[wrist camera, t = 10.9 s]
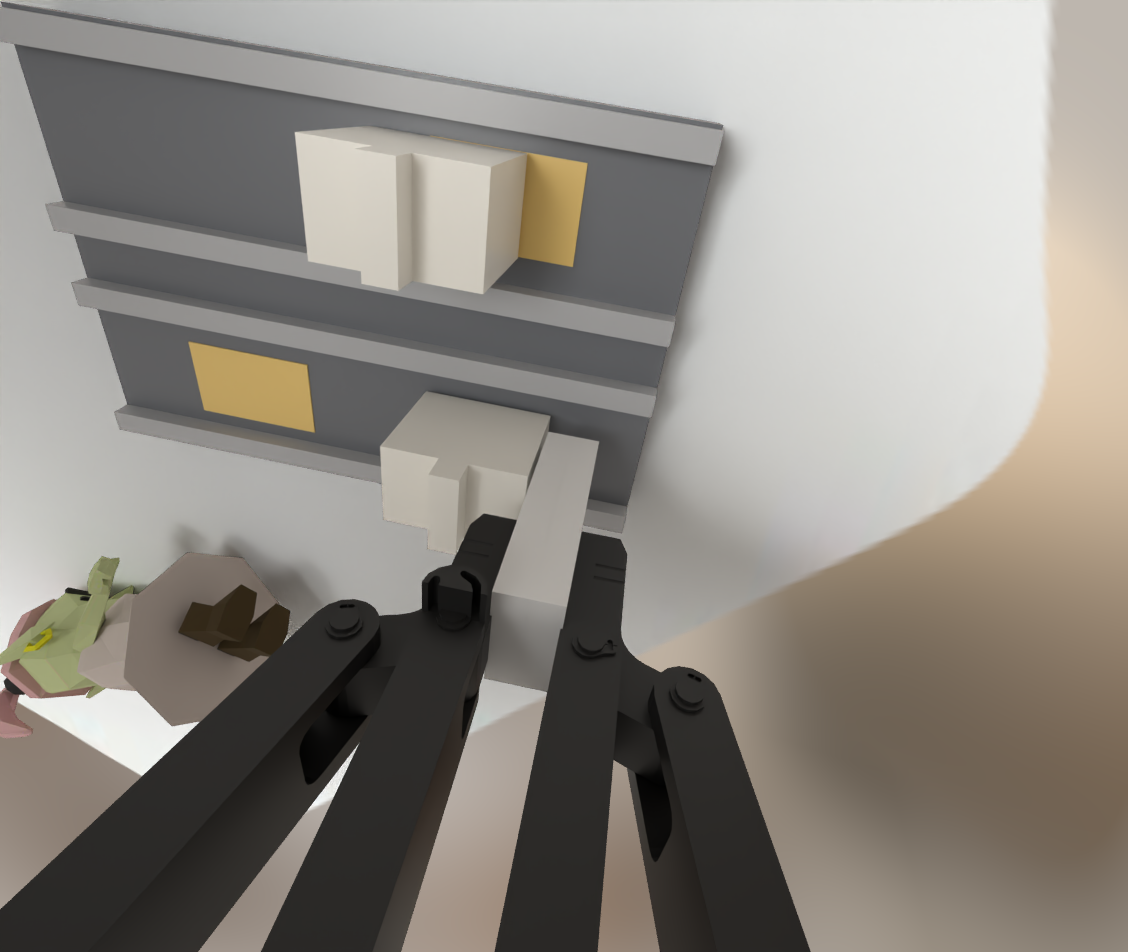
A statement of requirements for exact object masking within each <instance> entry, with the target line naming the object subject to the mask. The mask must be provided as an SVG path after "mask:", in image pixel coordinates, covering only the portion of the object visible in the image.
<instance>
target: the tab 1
mask: <svg viewBox="0 0 1128 952" xmlns="http://www.w3.org/2000/svg"><path fill="white" fill-rule="evenodd" d="M295 140H296V149H297V159H298V169H299V178H300V188H301V198H302V207H303V217H304V226H305V236H306V246H307V255H308V261H309V262H314V263H320V264H325V265H330V266H336V267H341V268H346V269H351V270H357V271H361V284H365V285H370V286H375V287H380V288H386V289H391V290H396V291H399V290H400V289H402V288H403V287H405V286H406V285H407V284H409V283H410V282H412V281H415V282H420V283H426V284H431V285H436V286H441V287H447V288H452V289H457V290H463V291H468V292H473V293H479V294H484V293H485V292H486V291H487V290H488V289H489V288H490V287H491V286H492V285H493V284H494V283H495V281H496V280H497V279H498V278H499V277H500V276H501V275H502V274H503V273H504V272H505V271H506V270H507V269H508V268H509V267H510V266H511V265H512V264H513V263H514V262H515V261H516V260H517V259H518V250H519V239H520V228H521V218H522V207H523V196H524V185H525V174H526V163H527V153H522V152H517V151H511V150H505V149H500V148H494V147H488V146H483V145H477V144H471V143H465V142H460V141H454V140H448V139H443V138H437V137H431V136H426V135H420V134H414V133H409V132H403V131H397V130H392V129H386V128H380V127H375V126H361V127H349V128H337V129H325V130H313V131H300V132H295Z"/></svg>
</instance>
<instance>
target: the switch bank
mask: <svg viewBox="0 0 1128 952" xmlns="http://www.w3.org/2000/svg"><path fill="white" fill-rule="evenodd" d="M1 3H2V7H0V41H1V42H6V43H12V44H14V45H15V48H16V51H17V54H18V58H19V61H20V64H21V67H22V70H23V73H24V77H25V80H26V83H27V86H28V89H29V93H30V96H31V99H32V102H33V105H34V108H35V112H36V115H37V118H38V121H39V124H40V128H41V131H42V134H43V137H44V140H45V143H46V147H47V150H48V153H49V156H50V159H51V163H52V166H53V169H54V172H55V175H56V178H57V182H58V185H59V188H60V191H61V194H62V198H63V201H62V202H56V203H50V204H45V205H46V208H47V211H48V214H49V217H50V220H51V223H52V226H53V229H54V231H60V232H65V233H70V234H74V236H75V239H76V242H77V245H78V248H79V252H80V255H81V258H82V261H83V264H84V268H85V271H86V274H87V277H88V278H85V279H81V280H78V281H75V282H71V284H72V287H73V290H74V293H75V296H76V299H77V302H78V305H80V306H85V307H90V308H95V309H98V312H99V315H100V318H101V322H102V325H103V328H104V331H105V334H106V338H107V341H108V344H109V347H110V350H111V353H112V357H113V360H114V363H115V366H116V369H117V373H118V376H119V379H120V382H121V385H122V388H123V392H124V395H125V398H126V401H127V405H125V406H124V407H122V408H120V409H118V410H117V411H115V412H114V413H115V416H116V419H117V422H118V425H119V428H120V430H125V431H130V432H135V433H140V434H145V435H149V436H154V437H159V438H164V439H169V440H174V441H178V442H183V443H188V444H193V445H198V446H203V447H207V448H212V449H217V450H222V451H227V452H232V453H236V454H241V455H246V456H251V457H256V458H261V459H265V460H270V461H275V462H280V463H285V464H289V465H294V466H299V467H304V468H309V469H314V470H318V471H323V472H328V473H333V474H338V475H343V476H347V477H352V478H357V479H362V480H367V481H372V482H376V483H381V484H382V478H381V456H380V446H381V445H382V443H383V442H384V441H385V440H386V439H387V437H388V436H389V435H390V434H391V433H392V431H393V430H394V429H395V428H396V427H397V425H398V424H399V423H400V422H401V421H402V420H403V418H404V417H405V416H406V415H407V414H408V412H409V411H410V410H411V409H412V408H413V406H414V405H415V404H416V403H417V402H418V400H419V399H420V398H421V397H422V396H423V394H424V393H425V392H426V391H428V392H433V393H438V394H443V395H448V396H453V397H458V398H463V399H468V400H473V401H478V402H483V403H488V404H493V405H498V406H503V407H508V408H513V409H519V410H524V411H529V412H534V413H539V414H544V415H549V416H551V417H550V424H549V431H548V432H553V433H558V434H563V435H568V436H573V437H579V438H584V439H589V440H594V441H599V445H598V450H597V455H596V460H595V465H594V471H593V476H592V481H591V486H590V491H589V496H588V501H587V506H586V511H585V517H584V522H583V525H584V526H589V527H594V528H599V529H603V530H608V531H613V532H618V533H622V531H623V527H624V523H625V519H626V513H627V505H628V501H629V497H630V493H631V489H632V485H633V481H634V477H635V473H636V469H637V466H638V462H639V458H640V454H641V450H642V446H643V442H644V438H645V434H646V430H647V426H648V422H649V418H651V417H652V413H653V409H654V405H655V401H656V397H657V386H658V382H659V378H660V374H661V370H662V366H663V362H664V358H665V354H666V351H667V347H669V346H670V342H671V338H672V334H673V330H674V326H675V315H676V311H677V307H678V303H679V299H680V295H681V291H682V287H683V283H684V279H685V275H686V271H687V267H688V263H689V259H690V255H691V251H692V247H693V243H694V240H695V236H696V232H697V228H698V224H699V220H700V216H701V212H702V208H703V204H704V200H705V196H706V192H707V188H708V184H709V180H710V176H711V172H712V168H713V166H715V165H716V161H717V157H718V153H719V149H720V145H721V142H722V138H723V134H724V131H723V130H722V128H723V125H722V124H720V123H715V122H709V121H703V120H698V119H692V118H686V117H680V116H674V115H668V114H662V113H657V112H651V111H645V110H639V109H633V108H627V107H621V106H616V105H610V104H604V103H598V102H592V101H586V100H580V99H575V98H569V97H563V96H557V95H551V94H545V93H539V92H533V91H528V90H522V89H516V88H510V87H504V86H498V85H492V84H487V83H481V82H475V81H469V80H463V79H457V78H451V77H446V76H440V75H434V74H428V73H422V72H416V71H410V70H404V69H399V68H393V67H387V66H381V65H375V64H369V63H363V62H358V61H352V60H346V59H340V58H334V57H328V56H322V55H317V54H311V53H305V52H299V51H293V50H287V49H281V48H276V47H270V46H264V45H258V44H252V43H246V42H240V41H234V40H229V39H223V38H217V37H211V36H205V35H199V34H193V33H188V32H182V31H176V30H170V29H164V28H158V27H152V26H147V25H141V24H135V23H129V22H123V21H117V20H111V19H106V18H100V17H94V16H88V15H82V14H76V13H70V12H64V11H59V10H53V9H46V8H39V7H32V6H26V5H19V4H12V3H5V2H1ZM361 126H375V127H380V128H386V129H392V130H397V131H403V132H409V133H414V134H420V135H426V136H431V137H437V138H443V139H448V140H454V141H460V142H465V143H471V144H477V145H483V146H488V147H494V148H500V149H505V150H511V151H517V152H522V153H527V163H526V174H525V185H524V196H523V207H522V218H521V228H520V239H519V250H518V259H517V260H516V261H515V262H514V263H513V264H512V265H511V266H510V267H509V268H508V269H507V270H506V271H505V272H504V273H503V274H502V275H501V276H500V277H499V278H498V279H497V280H496V281H495V283H494V284H493V285H492V286H491V287H490V288H489V289H488V290H487V291H486V292H485V293H484V294H479V293H473V292H468V291H463V290H457V289H452V288H447V287H441V286H436V285H431V284H426V283H420V282H415V281H412V282H410V283H409V284H407V285H406V286H405V287H403V288H402V289H400V290H399V291H396V290H391V289H386V288H380V287H375V286H370V285H365V284H361V271H357V270H351V269H346V268H341V267H336V266H330V265H325V264H320V263H314V262H309V261H308V255H307V246H306V236H305V226H304V217H303V207H302V198H301V188H300V178H299V169H298V159H297V149H296V140H295V132H300V131H313V130H325V129H337V128H349V127H361Z"/></svg>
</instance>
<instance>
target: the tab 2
mask: <svg viewBox="0 0 1128 952" xmlns="http://www.w3.org/2000/svg"><path fill="white" fill-rule="evenodd" d="M550 417H551V416H549V415H544V414H539V413H534V412H529V411H524V410H519V409H513V408H508V407H503V406H498V405H493V404H488V403H483V402H478V401H473V400H468V399H463V398H458V397H453V396H448V395H443V394H438V393H433V392H428V391H426V392H425V393H424V394H423V396H422V397H421V398H420V399H419V400H418V402H417V403H416V404H415V405H414V406H413V408H412V409H411V410H410V411H409V412H408V414H407V415H406V416H405V417H404V418H403V420H402V421H401V422H400V423H399V424H398V425H397V427H396V428H395V429H394V430H393V431H392V433H391V434H390V435H389V436H388V437H387V439H386V440H385V441H384V442H383V443H382V445H381V446H380V456H381V478H382V501H383V520H386V521H391V522H396V523H400V524H405V525H410V526H415V527H419V528H424V529H428V545H427V549H429V550H434V551H439V552H443V553H448V554H453V555H456V553H457V551H458V549H459V547H460V545H461V543H462V541H463V538H464V537H465V535H466V533H467V530H468V528H469V526H470V524H471V523H472V522H474V521H475V520H476V519H477V518H479V517H480V516H481V515H482V514H484V513H485V514H490V515H495V516H500V517H505V518H510V519H515V520H517V519H518V516H519V513H520V511H521V508H522V505H523V502H524V499H525V496H526V494H527V491H528V488H529V485H530V482H531V480H532V477H533V474H534V471H535V468H536V465H537V463H538V460H539V457H540V454H541V451H542V448H543V446H544V443H545V440H546V437H547V434H548V431H549V424H550Z"/></svg>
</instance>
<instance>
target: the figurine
mask: <svg viewBox="0 0 1128 952" xmlns="http://www.w3.org/2000/svg"><path fill="white" fill-rule="evenodd" d="M118 564H119V558H112V559H109V558H106V557H103V556H102V557H101V558H100V559H99V561H98V562H97V563H96V564H95V565H94V567H93V568H92V570H91V572H90V574H89V578H88V583H87V585H88V591H83V590H78V589H73V588H67V589H66V590H65V594H64V595H62V596H61V597H60V598H59V599H58V600H54V599H53V600H50V601H48V602H46V603H44V604H43V605H41V606H39V607H37V608H35V609H33V610H31V611H29V612H27V613H26V614H24V615H22V616H21V618H20V620H19V622H18V623H17V625H16V627H15V628H14V630H13V632H12V634H11V636H10V639H9V644H8V647H7V649H6V650H4V651H3V652H2V653H1V654H0V665H2V664H3V665H2V669H1V673H2V674H3V675H4V676H6V677H7V678H6V679H5V680H4V684H5V688H4V689H3V690H2V692H1V693H0V736H2V737H4V738H14V737H24V736H28V735H30V734H32V733H33V729H32V728H31V727H29V726H27V725H26V724H25V723H23V722H22V721H21V720H19V719H18V718H17V716H16V715H15V713H14V712H15V708H16V705H17V701H18V697H19V695H24V694H26V695H27V696H29V697H30V698H52V697H64V696H76V695H85V694H86V693H87V692H88V691H89V692H88V694H87V696H86V698H91V697H93V696H94V695H96V694H98V693H99V692H101V691H102V690H104V689H105V688H110V689H120V690H131V691H137V692H138V693H139V694H140V695H141V696H142V697H143V698H144V699H145V700H146V701H147V702H148V703H149V704H150V705H151V706H152V707H153V708H154V709H155V710H156V711H157V712H158V713H159V714H160V715H161V716H162V717H163V718H164V719H165V720H166V721H167V722H168V723H169V724H170V725H171V726H176V725H182V724H188V723H193V722H199V721H202V720H203V719H204V718H205V717H206V716H207V715H208V714H209V713H210V712H211V711H212V710H213V709H214V708H215V707H217V706H218V705H219V704H220V703H221V702H222V701H223V700H224V699H225V698H226V697H227V696H228V695H229V694H230V693H231V692H233V691H234V690H235V689H236V688H237V687H238V686H239V685H240V684H241V683H242V682H243V681H244V680H245V679H246V678H247V677H249V676H250V675H251V674H252V673H253V672H254V671H255V670H256V669H257V668H258V667H259V666H260V665H261V664H262V663H263V662H264V661H266V660H267V659H268V658H269V657H270V656H271V655H272V654H273V653H274V652H275V651H276V650H277V649H278V648H279V647H280V646H282V645H283V642H284V640H285V638H286V635H287V632H288V624H289V616H290V611H289V610H288V609H286V608H284V607H282V606H280V605H279V603H278V602H277V600H276V599H275V598H274V597H273V595H272V594H271V593H270V592H269V590H268V589H267V588H266V586H265V585H264V584H263V583H262V581H261V580H260V579H259V577H258V576H257V575H256V574H255V572H254V571H253V570H252V569H251V567H250V566H249V565H248V563H247V562H246V561H245V560H244V558H238V557H228V556H218V555H208V554H198V553H188V552H187V553H186V554H185V555H183V556H182V557H181V558H180V559H179V560H178V561H176V562H175V563H174V564H173V565H172V566H171V567H169V568H168V569H167V570H166V571H165V572H164V573H162V574H161V575H160V576H159V577H158V578H157V579H155V580H154V581H153V582H152V583H151V584H150V585H148V586H147V587H146V588H145V589H144V590H143V591H141V592H140V593H139V594H138V595H137V594H133V586H130V587H128V588H126V589H124V590H123V591H121V592H119V593H118V594H116V595H114V596H112V597H111V598H109V599H108V597H109V594H110V590H111V586H112V582H113V578H114V574H115V572H116V569H117V567H118Z"/></svg>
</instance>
